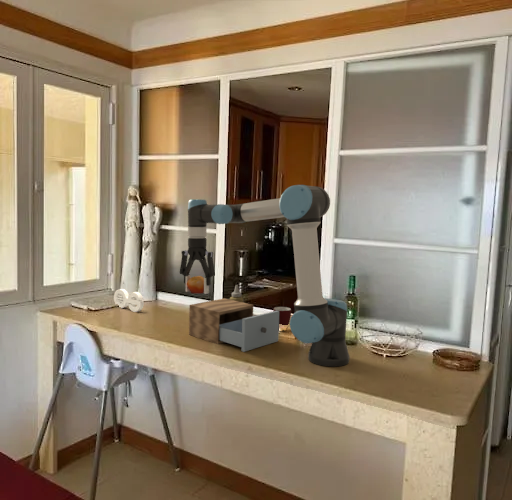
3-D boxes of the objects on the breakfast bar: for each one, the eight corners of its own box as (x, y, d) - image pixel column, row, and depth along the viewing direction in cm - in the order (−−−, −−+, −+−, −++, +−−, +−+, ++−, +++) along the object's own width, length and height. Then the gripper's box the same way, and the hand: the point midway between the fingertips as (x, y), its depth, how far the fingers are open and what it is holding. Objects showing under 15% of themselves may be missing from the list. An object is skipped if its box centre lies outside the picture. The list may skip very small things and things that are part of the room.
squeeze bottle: (247, 322, 232) (248, 285, 230) (237, 325, 225) (238, 287, 223) (234, 319, 236) (235, 283, 234) (224, 322, 229) (224, 285, 228)
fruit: (209, 287, 203) (207, 272, 198) (205, 300, 196) (203, 285, 192) (190, 286, 204) (188, 272, 199) (186, 299, 197) (184, 284, 193)
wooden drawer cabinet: (252, 334, 210) (253, 304, 209) (217, 344, 195) (218, 312, 194) (223, 326, 222) (224, 298, 221) (189, 334, 207) (189, 304, 205)
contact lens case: (113, 306, 256) (113, 288, 255) (117, 305, 258) (117, 287, 257) (140, 313, 243) (140, 293, 242) (143, 312, 244) (143, 293, 243)
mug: (279, 334, 211) (280, 312, 210) (265, 331, 216) (266, 309, 215) (293, 330, 219) (294, 309, 218) (280, 327, 224) (281, 306, 223)
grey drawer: (280, 341, 200) (281, 311, 199) (246, 352, 184) (247, 320, 183) (246, 332, 213) (247, 303, 212) (211, 341, 197) (212, 311, 196)
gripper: (224, 237, 194) (223, 293, 197) (180, 235, 203) (180, 288, 205) (215, 238, 188) (215, 296, 190) (170, 236, 196) (170, 291, 198)
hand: (197, 292), depth 197 cm, fingers closed on fruit, 8 cm apart
